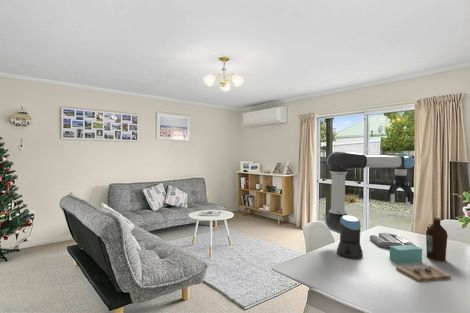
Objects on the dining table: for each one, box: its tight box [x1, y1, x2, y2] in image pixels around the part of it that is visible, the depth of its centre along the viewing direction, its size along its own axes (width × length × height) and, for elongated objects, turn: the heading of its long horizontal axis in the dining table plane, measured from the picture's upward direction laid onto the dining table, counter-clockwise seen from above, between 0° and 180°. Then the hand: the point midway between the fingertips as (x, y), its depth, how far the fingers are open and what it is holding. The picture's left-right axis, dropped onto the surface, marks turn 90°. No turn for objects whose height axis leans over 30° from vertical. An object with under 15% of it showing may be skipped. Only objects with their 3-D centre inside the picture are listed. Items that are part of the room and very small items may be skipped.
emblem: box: [369, 232, 418, 250], centre depth 190 cm, size 28×5×28 cm
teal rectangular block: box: [389, 244, 423, 265], centre depth 161 cm, size 16×7×8 cm, turn 102°
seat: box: [395, 264, 452, 282], centre depth 143 cm, size 20×14×4 cm
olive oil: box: [425, 217, 449, 262], centre depth 165 cm, size 11×11×25 cm
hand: (399, 204), depth 192 cm, fingers open, 13 cm apart
